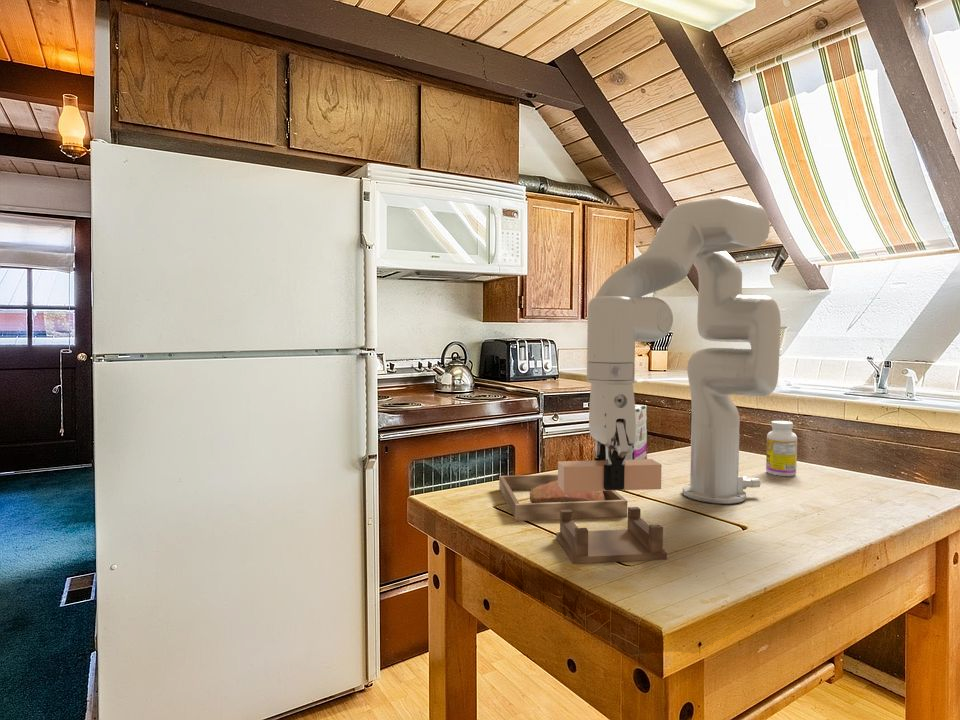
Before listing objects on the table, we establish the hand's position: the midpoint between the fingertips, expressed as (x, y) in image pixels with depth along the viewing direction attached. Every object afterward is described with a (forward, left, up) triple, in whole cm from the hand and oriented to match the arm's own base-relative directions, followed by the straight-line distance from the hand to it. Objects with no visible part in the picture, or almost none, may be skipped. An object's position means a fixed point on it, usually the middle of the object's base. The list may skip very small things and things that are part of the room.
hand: (608, 484), depth 95 cm
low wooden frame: (+2, -26, -11) cm, 28 cm away
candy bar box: (-22, -48, -11) cm, 54 cm away
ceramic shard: (0, -25, -11) cm, 27 cm away
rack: (0, 0, -11) cm, 11 cm away
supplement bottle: (-58, -42, -11) cm, 73 cm away
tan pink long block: (0, 0, 0) cm, 0 cm away
